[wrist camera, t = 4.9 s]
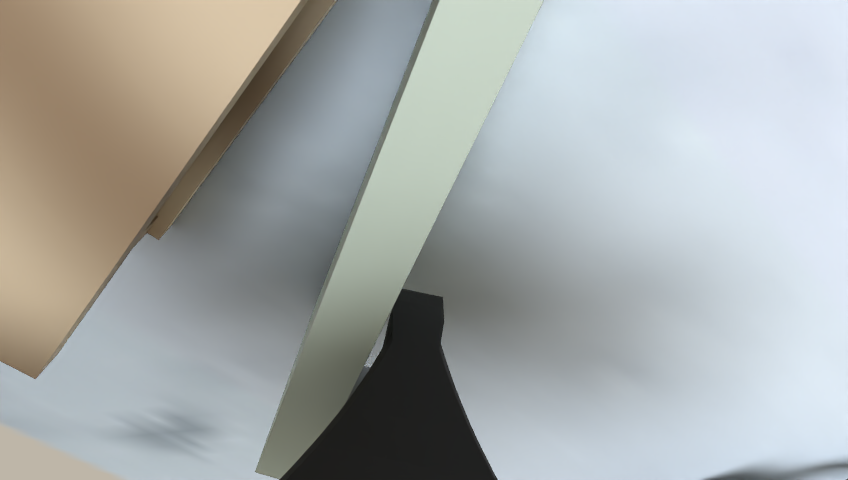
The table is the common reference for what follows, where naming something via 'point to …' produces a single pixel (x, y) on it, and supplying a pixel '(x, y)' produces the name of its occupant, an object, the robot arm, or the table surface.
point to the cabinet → (116, 137)
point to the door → (397, 207)
